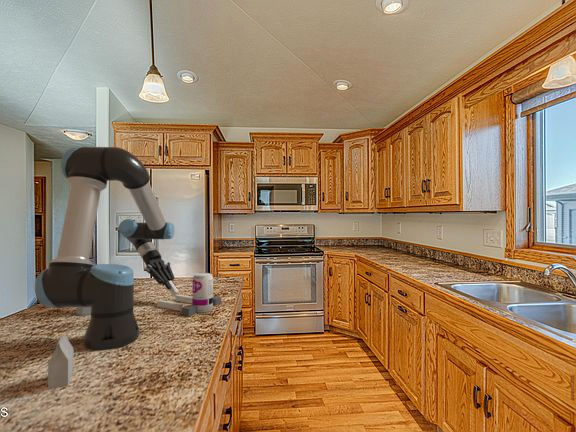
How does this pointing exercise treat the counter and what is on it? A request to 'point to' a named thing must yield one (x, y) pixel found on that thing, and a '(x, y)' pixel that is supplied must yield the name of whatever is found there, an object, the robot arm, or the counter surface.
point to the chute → (185, 310)
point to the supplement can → (202, 292)
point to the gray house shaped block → (61, 364)
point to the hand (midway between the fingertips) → (175, 293)
